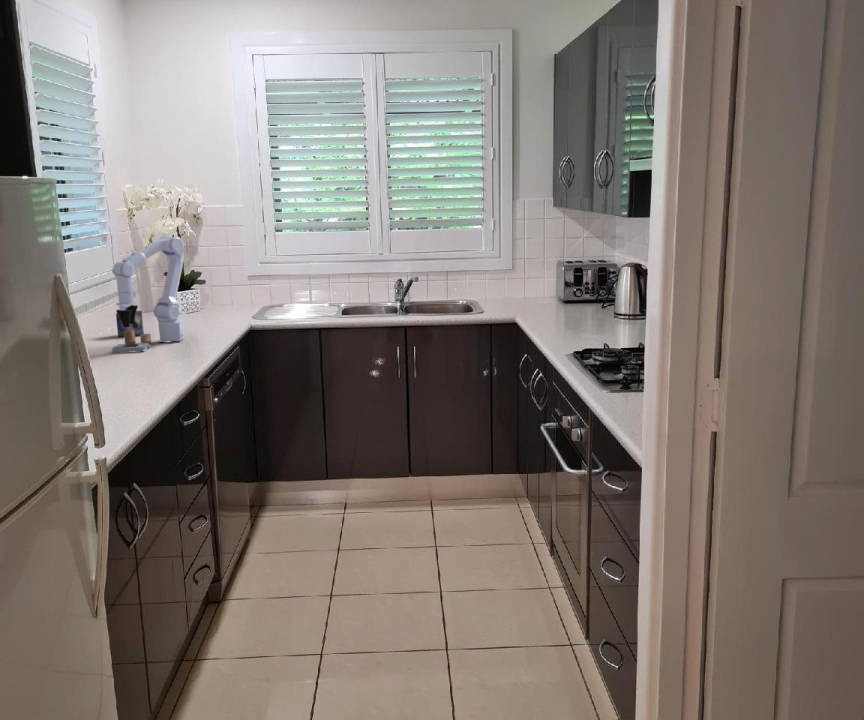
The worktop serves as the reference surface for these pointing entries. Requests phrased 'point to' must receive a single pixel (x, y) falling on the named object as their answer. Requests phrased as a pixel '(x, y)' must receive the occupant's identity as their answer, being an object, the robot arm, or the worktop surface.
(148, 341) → the short dowel
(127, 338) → the long dowel
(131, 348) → the board
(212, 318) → the worktop surface
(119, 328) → the small box
